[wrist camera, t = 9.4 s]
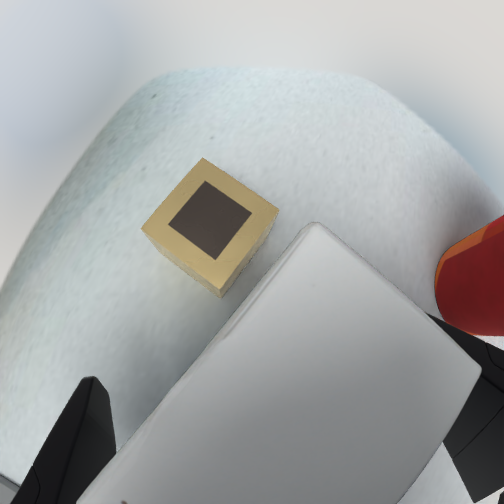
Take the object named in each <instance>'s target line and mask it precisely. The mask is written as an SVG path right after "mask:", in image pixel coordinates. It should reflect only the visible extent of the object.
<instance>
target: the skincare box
mask: <svg viewBox="0 0 504 504" xmlns="http://www.w3.org/2000/svg"><path fill="white" fill-rule="evenodd" d="M481 370H482V369H481V367H480V365H479V364H478V363H476V362H475V361H474V360H473V359H472V358H471V357H470V356H469V355H468V354H467V353H466V352H465V351H464V350H463V349H462V348H461V347H460V346H459V345H458V344H457V343H456V342H455V341H454V340H453V339H452V338H451V337H450V336H449V335H448V334H447V333H446V332H444V331H443V330H442V329H441V328H440V327H439V326H438V325H437V324H436V323H435V322H434V321H433V320H432V319H431V318H430V317H429V316H428V315H427V314H426V313H424V312H423V311H422V310H421V309H420V308H419V307H418V306H417V305H416V304H415V303H414V302H412V301H411V300H410V299H409V298H408V297H407V296H406V295H405V294H404V293H402V292H401V291H400V290H399V289H398V288H397V287H396V286H395V285H394V284H392V283H391V282H390V281H389V280H388V279H387V278H386V277H384V276H383V275H382V274H381V273H380V272H379V271H378V270H376V269H375V268H374V267H373V266H372V265H371V264H369V263H368V262H367V261H366V260H365V259H363V258H362V257H361V256H360V255H359V254H358V253H356V252H355V251H354V250H353V249H352V248H350V247H349V246H348V245H347V244H346V243H344V242H343V241H342V240H341V239H340V238H338V237H337V236H336V235H335V234H334V233H332V232H331V231H330V230H329V229H327V228H326V227H325V226H324V225H322V224H321V223H318V222H312V223H310V224H308V225H307V226H305V227H304V228H303V229H302V230H301V231H300V232H299V233H298V235H297V236H296V237H295V238H294V240H293V241H292V242H291V243H290V245H289V246H288V247H287V248H286V250H285V251H284V252H283V253H282V254H281V256H280V257H279V258H278V259H277V261H276V262H275V263H274V264H273V265H272V266H271V268H270V269H269V270H268V271H267V272H266V274H265V275H264V276H263V277H262V279H261V280H260V281H259V282H258V284H257V285H256V286H255V287H254V289H253V290H252V291H251V292H250V294H249V295H248V296H247V297H246V299H245V300H244V301H243V302H242V304H241V305H240V306H239V307H238V309H237V310H236V311H235V312H234V313H233V315H232V316H231V317H230V318H229V319H228V320H227V322H226V323H225V324H224V325H223V327H222V328H221V329H220V330H219V331H218V333H217V334H216V335H215V336H214V338H213V339H212V340H211V341H210V343H209V344H208V345H207V346H206V348H205V349H204V350H203V352H202V353H201V354H200V355H199V357H198V358H197V359H196V360H195V361H194V363H193V364H192V365H191V366H190V367H189V369H188V370H187V371H186V372H185V373H184V375H183V376H182V377H181V378H180V379H179V380H178V381H177V382H176V383H175V384H174V386H173V387H172V388H171V389H170V390H169V392H168V393H167V394H166V396H165V397H164V398H163V399H162V401H161V402H160V403H159V405H158V406H157V407H156V408H155V409H154V411H153V412H152V413H151V414H150V415H149V416H148V418H147V419H146V420H145V421H144V422H143V423H142V424H141V426H140V427H139V428H138V429H137V430H136V431H135V432H134V434H133V435H132V436H131V437H130V438H129V440H128V441H127V442H126V443H125V444H124V445H123V447H122V448H121V449H120V450H119V451H118V452H117V454H116V455H115V456H114V457H113V458H112V459H111V460H110V462H109V463H108V464H107V465H106V466H105V467H104V468H103V470H102V471H101V472H100V473H99V474H98V476H97V477H96V478H95V479H94V480H93V482H92V483H91V484H90V485H89V486H88V487H87V489H86V490H85V491H84V493H83V494H82V495H81V497H80V498H79V499H78V500H77V502H76V504H397V503H398V502H399V501H400V499H401V498H402V497H403V496H404V494H405V493H406V492H407V491H408V489H409V488H410V487H411V486H412V484H413V483H414V482H415V480H416V479H417V478H418V476H419V475H420V474H421V472H422V471H423V469H424V468H425V467H426V465H427V464H428V462H429V461H430V459H431V458H432V456H433V455H434V454H435V452H436V451H437V449H438V447H439V446H440V444H441V443H442V441H443V440H444V438H445V437H446V435H447V434H448V432H449V430H450V429H451V427H452V425H453V424H454V422H455V420H456V419H457V417H458V415H459V413H460V411H461V410H462V408H463V406H464V404H465V402H466V400H467V398H468V397H469V395H470V393H471V391H472V389H473V387H474V385H475V383H476V382H477V380H478V378H479V376H480V373H481Z"/></svg>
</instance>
